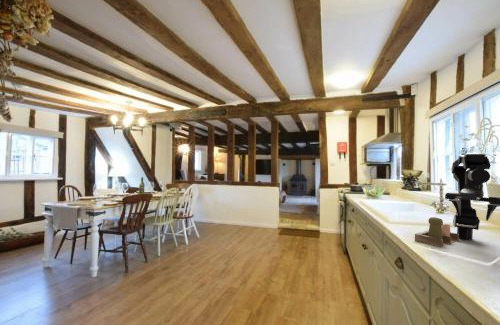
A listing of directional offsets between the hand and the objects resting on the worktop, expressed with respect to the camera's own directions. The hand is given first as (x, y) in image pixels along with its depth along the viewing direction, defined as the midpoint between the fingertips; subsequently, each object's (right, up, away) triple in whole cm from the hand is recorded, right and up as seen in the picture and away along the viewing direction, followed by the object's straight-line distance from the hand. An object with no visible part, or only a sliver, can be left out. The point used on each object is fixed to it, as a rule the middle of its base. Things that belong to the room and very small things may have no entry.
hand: (472, 218), depth 107 cm
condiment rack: (-11, -13, +6) cm, 18 cm away
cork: (-14, -12, +3) cm, 19 cm away
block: (-6, -12, +8) cm, 16 cm away
